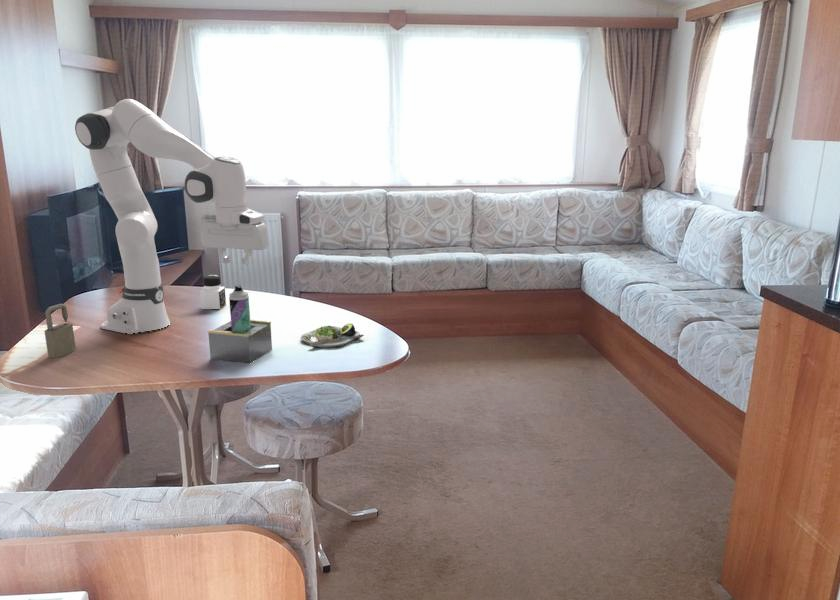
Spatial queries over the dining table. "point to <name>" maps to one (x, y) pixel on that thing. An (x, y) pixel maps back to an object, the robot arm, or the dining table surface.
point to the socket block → (240, 342)
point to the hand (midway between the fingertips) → (235, 263)
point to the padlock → (59, 334)
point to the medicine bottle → (212, 293)
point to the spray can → (239, 310)
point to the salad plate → (332, 336)
